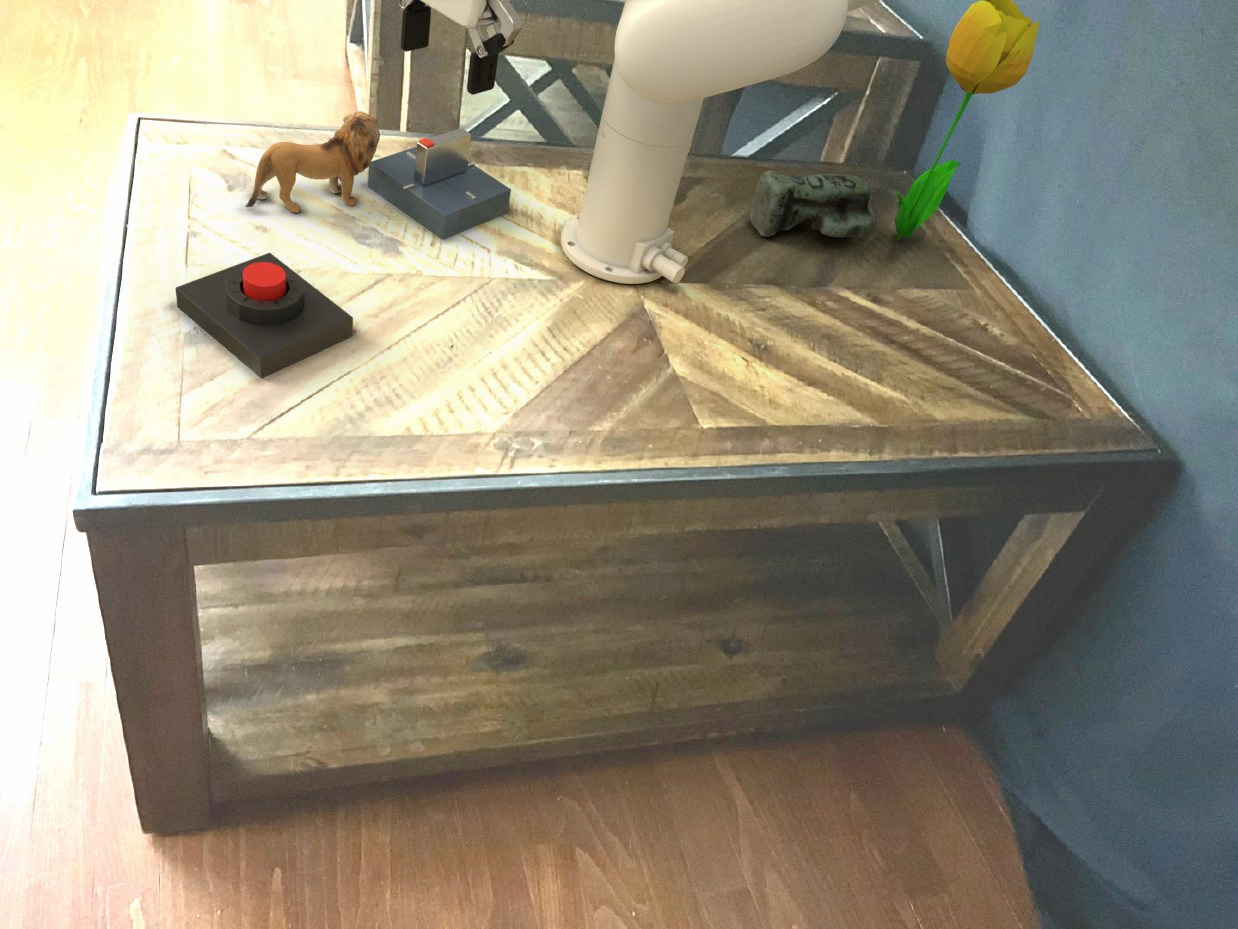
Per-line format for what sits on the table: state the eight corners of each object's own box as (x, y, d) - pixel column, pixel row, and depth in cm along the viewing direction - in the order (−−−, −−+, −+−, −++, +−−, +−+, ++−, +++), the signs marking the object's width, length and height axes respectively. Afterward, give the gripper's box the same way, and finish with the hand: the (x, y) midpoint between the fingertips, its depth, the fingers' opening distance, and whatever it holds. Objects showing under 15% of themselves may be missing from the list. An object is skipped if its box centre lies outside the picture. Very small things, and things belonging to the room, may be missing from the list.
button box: (352, 336, 95) (354, 301, 92) (261, 378, 88) (259, 342, 85) (270, 271, 99) (269, 236, 96) (177, 307, 92) (173, 270, 90)
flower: (884, 258, 126) (999, 17, 105) (856, 221, 131) (960, -16, 111) (941, 259, 129) (1064, 24, 108) (912, 222, 134) (1023, -8, 114)
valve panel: (510, 211, 115) (513, 187, 113) (440, 240, 108) (443, 215, 106) (436, 162, 119) (439, 137, 117) (364, 187, 112) (366, 161, 110)
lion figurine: (362, 174, 114) (365, 99, 108) (387, 199, 112) (391, 124, 105) (235, 198, 106) (230, 118, 99) (258, 226, 103) (255, 146, 97)
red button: (294, 293, 92) (294, 277, 90) (260, 307, 89) (260, 291, 88) (269, 273, 93) (268, 257, 92) (234, 286, 90) (233, 270, 89)
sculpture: (817, 162, 132) (730, 197, 125) (850, 131, 125) (759, 166, 118) (863, 244, 131) (778, 283, 124) (899, 217, 124) (810, 257, 118)
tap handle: (457, 164, 114) (462, 125, 111) (467, 171, 113) (472, 132, 110) (413, 179, 110) (416, 139, 107) (423, 186, 109) (427, 146, 106)
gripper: (562, -84, 90) (533, 99, 101) (430, -154, 96) (418, 26, 108) (501, -75, 85) (478, 116, 97) (366, -150, 91) (360, 38, 103)
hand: (446, 69), depth 102 cm, fingers open, 9 cm apart
